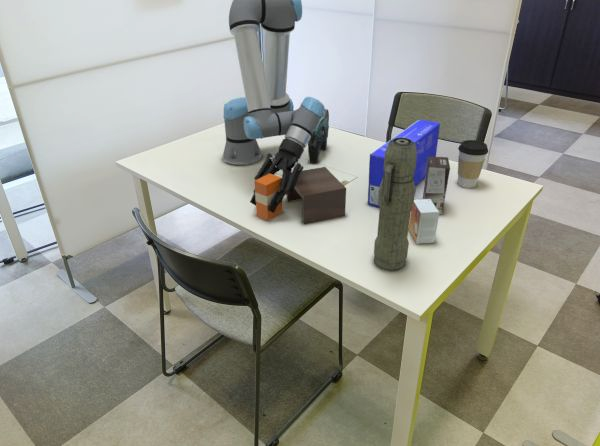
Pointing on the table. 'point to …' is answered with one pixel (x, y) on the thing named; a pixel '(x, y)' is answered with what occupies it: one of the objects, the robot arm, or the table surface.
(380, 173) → the blue cardboard box
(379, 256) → the thermos
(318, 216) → the small wooden table
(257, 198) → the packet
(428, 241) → the small box
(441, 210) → the coffee box
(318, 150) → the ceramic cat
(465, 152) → the coffee cup
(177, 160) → the table surface
